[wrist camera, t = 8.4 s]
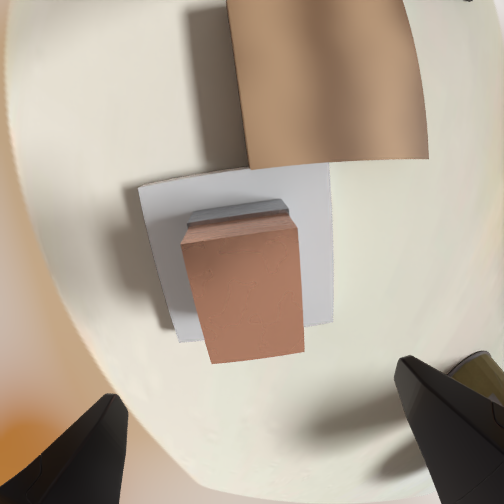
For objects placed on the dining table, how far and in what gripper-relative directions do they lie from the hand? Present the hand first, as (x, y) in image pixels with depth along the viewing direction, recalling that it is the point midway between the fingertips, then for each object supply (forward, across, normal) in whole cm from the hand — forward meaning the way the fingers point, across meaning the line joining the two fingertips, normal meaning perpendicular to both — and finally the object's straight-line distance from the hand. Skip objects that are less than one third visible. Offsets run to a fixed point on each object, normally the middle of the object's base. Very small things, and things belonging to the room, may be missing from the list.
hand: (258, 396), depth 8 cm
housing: (+10, 0, 0) cm, 10 cm away
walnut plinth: (+12, -6, -11) cm, 17 cm away
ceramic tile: (+12, 0, 0) cm, 12 cm away
